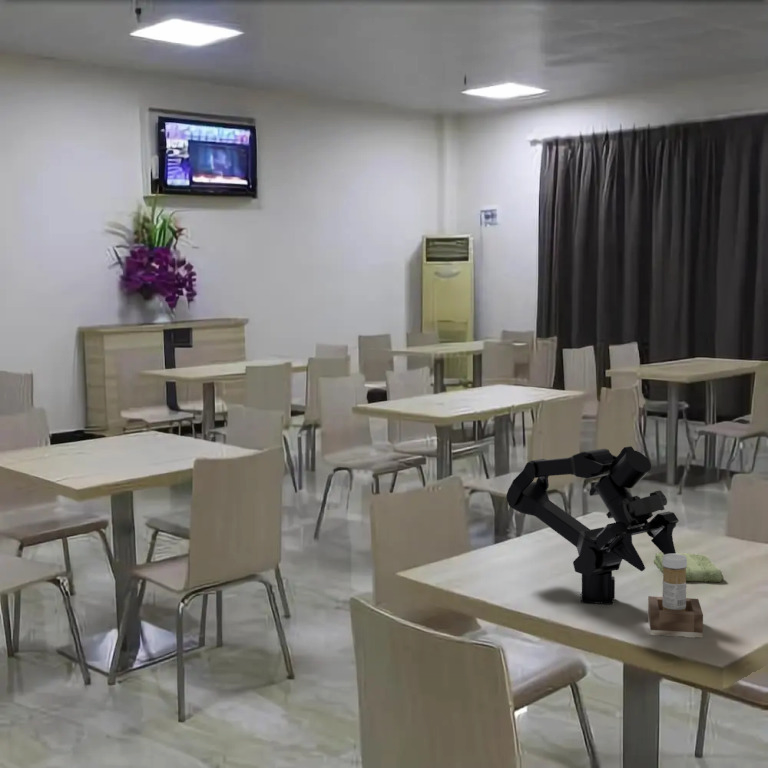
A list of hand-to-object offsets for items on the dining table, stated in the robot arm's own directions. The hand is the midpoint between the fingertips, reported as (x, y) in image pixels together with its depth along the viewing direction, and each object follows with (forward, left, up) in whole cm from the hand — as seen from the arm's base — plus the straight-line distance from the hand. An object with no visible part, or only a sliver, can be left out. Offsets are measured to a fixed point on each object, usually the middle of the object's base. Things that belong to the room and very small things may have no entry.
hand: (659, 565), depth 195 cm
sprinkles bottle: (+3, -3, -11) cm, 11 cm away
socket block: (+3, -3, -11) cm, 12 cm away
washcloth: (+8, +36, -12) cm, 39 cm away
